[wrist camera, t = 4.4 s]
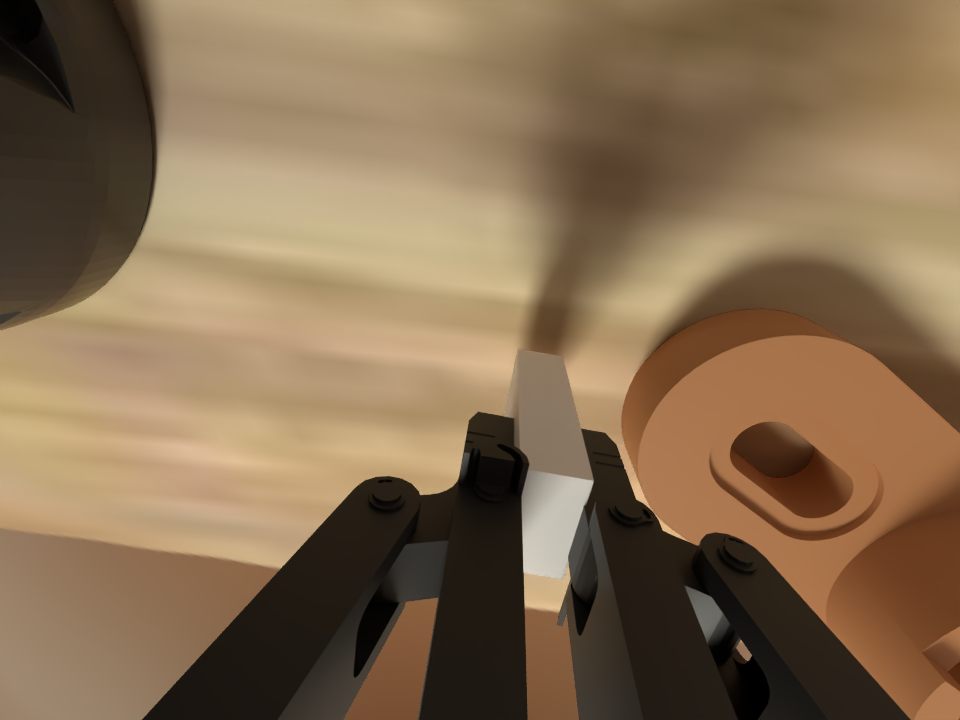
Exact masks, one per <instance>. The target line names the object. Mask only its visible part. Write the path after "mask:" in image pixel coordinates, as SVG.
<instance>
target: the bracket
mask: <svg viewBox="0 0 960 720" xmlns="http://www.w3.org/2000/svg"><path fill="white" fill-rule="evenodd" d="M762 422H780V423H783V424H786V425H788V426H789V427H791V428H792V429H793V430H795V431H796V432H797V433H798V434H799V435H801V436H802V437H803V438H804V439H806V440H807V441H808V442H809V443H810V444H812V445H813V446H814V454H813V457H812V459H811V461H810V462H809V464H808V465H807V466H806V467H805V468H804V469H802V470H801V471H800V472H798V473H796V474H794V475H791V476H788V477H782V478H774V477H769V476H766V475H764V474H763V473H761V472H760V471H758V470H757V469H756V468H755V467H753V466H752V465H751V464H749V463H748V462H747V461H746V460H744V459H743V458H742V457H740V456H739V455H738V454H737V453H735V452H734V451H733V450H731V446H732V443H733V442H734V440H735V439H736V437H737V436H738V435H739V434H740V433H741V432H742V431H744V430H745V429H747V428H749V427H750V426H753V425H755V424H758V423H762ZM622 435H623V440H624V444H625V447H626V450H627V452H628V455H629V457H630V460H631V463H632V465H633V468H634V470H635V473H636V475H637V478H638V481H639V483H640V486H641V488H642V491H643V493H644V496H645V498H646V500H647V502H648V503H649V505H650V507H651V508H652V510H653V511H654V512H655V514H656V515H657V516H658V517H659V518H660V519H661V520H662V521H663V522H664V523H665V524H666V525H667V526H669V527H670V528H671V529H672V530H674V531H675V532H677V533H678V534H679V535H681V536H682V537H684V538H685V539H687V540H688V541H689V542H691V543H692V544H695V545H697V546H698V545H699V543H700V541H701V539H702V538H703V537H704V536H705V535H706V534H709V533H714V532H717V533H724V534H729V535H731V536H735V537H737V538H739V539H742V540H743V541H745V542H747V543H748V544H750V545H751V546H753V547H755V548H756V549H757V550H758V551H759V552H760V553H761V554H762V555H764V556H765V557H766V558H767V559H768V561H769V562H770V563H771V564H772V565H773V566H774V567H775V568H776V570H777V571H778V572H779V573H780V574H781V575H782V576H783V577H784V578H785V580H786V581H787V582H788V583H789V584H790V585H791V586H792V587H793V589H794V590H795V591H796V592H797V593H798V594H799V595H800V596H801V597H802V599H803V600H804V601H805V602H806V603H807V604H808V605H809V606H810V608H811V609H812V610H813V611H814V612H815V613H816V614H817V615H818V616H819V618H820V619H821V620H822V621H823V622H824V623H825V624H826V625H827V627H828V628H829V629H830V630H831V631H832V632H833V633H834V634H835V635H836V637H837V638H838V639H839V640H840V641H841V642H842V643H843V644H844V646H845V647H846V648H847V649H848V650H849V651H850V652H851V653H852V654H853V656H854V657H855V658H856V659H857V660H858V661H859V662H860V663H861V665H862V666H863V667H864V668H865V669H866V670H867V671H868V672H869V673H870V675H871V676H872V677H873V678H874V679H875V680H876V681H877V682H878V684H879V685H880V686H881V687H882V688H883V689H884V690H885V691H886V692H887V694H888V695H889V696H890V697H891V698H892V699H893V700H894V701H895V703H896V704H897V705H898V706H899V707H900V708H901V709H902V710H903V711H904V713H905V714H906V715H907V716H908V717H909V718H910V719H911V720H960V433H959V432H958V431H956V430H955V429H954V428H953V427H952V426H951V425H950V424H949V423H948V422H947V421H945V420H944V419H943V418H942V417H941V416H940V415H939V414H938V413H937V412H936V411H934V410H933V409H932V408H931V407H930V406H929V405H928V404H927V403H926V402H925V401H923V400H922V399H921V398H920V397H919V396H918V395H917V394H916V393H915V392H914V391H912V390H911V389H910V388H909V387H908V386H907V385H906V384H905V383H904V382H903V381H901V380H900V379H899V378H898V377H897V376H896V375H895V374H894V373H893V372H892V371H890V370H889V369H888V368H887V367H886V366H885V365H884V364H883V363H881V362H880V361H879V360H878V359H876V358H875V357H874V356H872V355H871V354H869V353H867V352H866V351H864V350H862V349H860V348H859V347H857V346H855V345H853V344H851V343H850V342H848V341H846V340H844V339H842V338H841V337H839V336H837V335H835V334H833V333H832V332H830V331H828V330H826V329H824V328H823V327H821V326H819V325H817V324H815V323H814V322H812V321H810V320H808V319H805V318H803V317H801V316H798V315H795V314H791V313H788V312H783V311H777V310H768V309H746V310H738V311H731V312H727V313H723V314H719V315H716V316H712V317H709V318H706V319H704V320H702V321H699V322H697V323H695V324H692V325H691V326H689V327H687V328H685V329H683V330H681V331H680V332H678V333H677V334H675V335H674V336H672V337H671V338H669V339H668V340H667V341H666V342H664V343H663V344H662V345H661V346H660V347H658V348H657V349H656V350H655V351H654V352H653V353H652V354H651V355H650V356H649V358H648V359H647V360H646V361H645V363H644V364H643V365H642V366H641V368H640V369H639V371H638V372H637V374H636V375H635V377H634V379H633V381H632V383H631V385H630V387H629V389H628V392H627V394H626V397H625V401H624V405H623V411H622Z"/></svg>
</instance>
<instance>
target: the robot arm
mask: <svg viewBox="0 0 960 720" xmlns="http://www.w3.org/2000/svg"><path fill="white" fill-rule="evenodd" d="M151 179H152V141H151V130H150V122H149V115H148V109H147V103H146V99H145V94H144V90H143V85H142V81H141V78H140V74H139V71H138V67H137V64H136V60H135V58H134V55H133V52H132V49H131V46H130V43H129V40H128V38H127V35H126V33H125V30H124V28H123V25H122V23H121V21H120V18H119V16H118V14H117V11H116V9H115V7H114V5H113V3H112V1H111V0H0V330H3V329H7V328H10V327H14V326H17V325H20V324H23V323H26V322H28V321H31V320H34V319H37V318H40V317H43V316H46V315H49V314H52V313H55V312H58V311H61V310H63V309H66V308H68V307H71V306H73V305H75V304H77V303H79V302H81V301H83V300H85V299H86V298H88V297H89V296H91V295H92V294H94V293H95V292H97V291H98V290H99V289H100V288H102V287H103V286H104V285H105V284H106V283H107V282H108V281H109V280H110V279H111V278H112V277H113V276H114V275H115V274H116V273H117V271H118V270H119V269H120V268H121V266H122V265H123V263H124V262H125V260H126V259H127V257H128V256H129V254H130V252H131V250H132V248H133V247H134V245H135V243H136V241H137V238H138V236H139V233H140V231H141V228H142V225H143V222H144V218H145V215H146V211H147V206H148V201H149V196H150V188H151ZM620 457H621V456H620V454H619V451H618V448H617V445H616V444H615V443H614V442H613V441H612V440H611V439H610V438H609V437H608V435H607V434H606V433H603V432H597V431H591V430H586V429H581V427H580V423H579V419H578V415H577V411H576V407H575V403H574V399H573V395H572V391H571V387H570V383H569V379H568V375H567V371H566V367H565V363H564V359H563V356H557V355H552V354H546V353H540V352H535V351H529V350H523V349H518V350H517V355H516V360H515V364H514V369H513V374H512V379H511V383H510V388H509V393H508V398H507V402H506V407H505V412H504V416H499V415H493V414H487V413H482V412H478V413H477V414H475V415H474V416H473V417H472V418H471V419H470V420H469V424H468V430H467V436H466V441H465V447H464V452H463V458H462V464H461V469H460V475H459V479H458V481H457V483H456V484H455V485H454V486H453V487H451V488H450V489H448V490H447V491H444V492H441V493H437V494H431V495H420V494H419V491H418V490H417V489H416V488H415V487H414V486H413V485H412V484H411V483H409V482H407V481H405V480H403V479H400V478H395V477H390V476H385V477H375V478H372V479H369V480H365V481H364V482H362V483H361V484H360V485H358V486H357V487H356V488H355V489H354V490H353V491H352V492H351V493H350V494H349V495H348V496H347V497H346V499H345V500H344V501H343V502H342V503H341V504H340V505H339V506H338V507H337V508H336V509H335V510H334V512H333V513H332V514H331V515H330V516H329V517H328V518H327V519H326V520H325V521H324V522H323V524H322V525H321V526H320V527H319V528H318V529H317V530H316V531H315V532H314V533H313V534H312V535H311V537H310V538H309V539H308V540H307V541H306V542H305V543H304V544H303V545H302V546H301V547H300V549H299V550H298V551H297V552H296V553H295V554H294V555H293V556H292V557H291V558H290V559H289V560H288V562H287V563H286V564H285V565H284V566H283V567H282V568H281V569H280V570H279V571H278V572H277V574H276V575H275V576H274V577H273V578H272V579H271V580H270V581H269V582H268V583H267V585H265V587H264V588H263V589H262V590H261V591H260V592H259V593H258V594H257V595H256V596H255V598H254V599H253V600H252V601H251V602H250V603H249V604H248V605H247V606H246V607H245V608H244V609H243V611H242V612H241V613H240V614H239V615H238V616H237V617H236V618H235V619H234V620H233V621H232V622H231V624H230V625H229V626H228V627H227V628H226V629H225V630H224V631H223V632H222V633H221V634H220V635H219V637H218V638H217V639H216V640H215V641H214V642H213V643H212V644H211V645H210V646H209V647H208V649H207V650H206V651H205V652H204V653H203V654H202V655H201V656H200V657H199V658H198V659H197V660H196V662H195V663H194V664H193V665H192V666H191V667H190V668H189V669H188V670H187V671H186V672H185V674H184V675H183V676H182V677H181V678H180V679H179V680H178V681H177V682H176V683H175V684H174V685H173V687H172V688H171V689H170V690H169V691H168V692H167V693H166V694H165V695H164V696H163V697H162V698H161V700H160V701H159V702H158V703H157V704H156V705H155V706H154V707H153V708H152V709H151V710H150V712H149V713H148V714H147V715H146V716H145V717H144V718H143V719H142V720H343V718H344V717H345V715H346V713H347V712H348V709H349V708H350V706H351V704H352V702H353V701H354V699H355V697H356V695H357V693H358V691H359V690H360V688H361V686H362V684H363V682H364V680H365V679H366V677H367V675H368V673H369V671H370V669H371V668H372V666H373V664H374V662H375V660H376V658H377V657H378V655H379V653H380V651H381V649H382V647H383V646H384V644H385V642H386V640H387V638H388V636H389V635H390V633H391V631H392V629H393V627H394V625H395V624H396V622H397V620H398V618H399V616H400V614H401V613H402V611H403V609H404V607H405V603H406V602H407V601H415V600H422V599H430V598H438V602H437V608H436V614H435V620H434V626H433V632H432V638H431V644H430V650H429V655H428V661H427V667H426V673H425V679H424V685H423V691H422V697H421V703H420V709H419V714H418V720H527V686H526V685H527V683H526V646H525V609H524V573H528V574H534V575H540V576H546V577H551V578H557V579H563V577H564V574H565V571H566V567H567V564H568V561H569V569H570V576H571V579H570V582H569V585H568V588H567V591H566V594H565V597H564V600H563V604H562V607H561V610H560V613H559V616H558V623H557V624H558V625H560V626H562V625H563V622H564V619H565V617H566V615H567V618H568V627H569V636H570V644H571V653H572V661H573V671H574V680H575V688H576V697H577V706H578V715H579V720H911V719H910V718H909V717H908V716H907V715H906V714H905V713H904V711H903V710H902V709H901V708H900V707H899V706H898V705H897V704H896V703H895V701H894V700H893V699H892V698H891V697H890V696H889V695H888V694H887V692H886V691H885V690H884V689H883V688H882V687H881V686H880V685H879V684H878V682H877V681H876V680H875V679H874V678H873V677H872V676H871V675H870V673H869V672H868V671H867V670H866V669H865V668H864V667H863V666H862V665H861V663H860V662H859V661H858V660H857V659H856V658H855V657H854V656H853V654H852V653H851V652H850V651H849V650H848V649H847V648H846V647H845V646H844V644H843V643H842V642H841V641H840V640H839V639H838V638H837V637H836V635H835V634H834V633H833V632H832V631H831V630H830V629H829V628H828V627H827V625H826V624H825V623H824V622H823V621H822V620H821V619H820V618H819V616H818V615H817V614H816V613H815V612H814V611H813V610H812V609H811V608H810V606H809V605H808V604H807V603H806V602H805V601H804V600H803V599H802V597H801V596H800V595H799V594H798V593H797V592H796V591H795V590H794V589H793V587H792V586H791V585H790V584H789V583H788V582H787V581H786V580H785V578H784V577H783V576H782V575H781V574H780V573H779V572H778V571H777V570H776V568H775V567H774V566H773V565H772V564H771V563H770V562H769V561H768V559H767V558H766V557H765V556H764V555H762V554H761V553H760V552H759V551H758V550H757V549H756V548H755V547H753V546H751V545H750V544H748V543H747V542H745V541H743V540H742V539H739V538H737V537H735V536H731V535H729V534H724V533H717V532H714V533H709V534H706V535H705V536H704V537H703V538H702V539H701V541H700V543H699V545H698V546H697V545H695V544H692V543H690V542H687V541H685V540H682V539H680V538H677V537H675V536H673V535H671V534H668V533H666V532H664V531H663V530H662V528H661V525H660V523H659V520H658V519H657V517H656V516H655V514H654V513H653V511H651V510H650V509H649V508H648V507H647V506H646V505H644V504H643V503H641V502H639V501H638V500H636V498H635V495H634V492H633V490H632V487H631V484H630V481H629V479H628V476H627V473H626V470H625V469H624V465H623V462H622V459H620ZM740 640H742V641H743V643H744V644H745V646H746V647H747V648H748V650H749V651H750V653H751V654H752V657H751V658H750V660H749V661H746V660H745V659H744V658H743V657H742V656H741V655H740V653H739V652H738V650H737V649H736V647H737V645H738V644H739V642H740Z"/></svg>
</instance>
